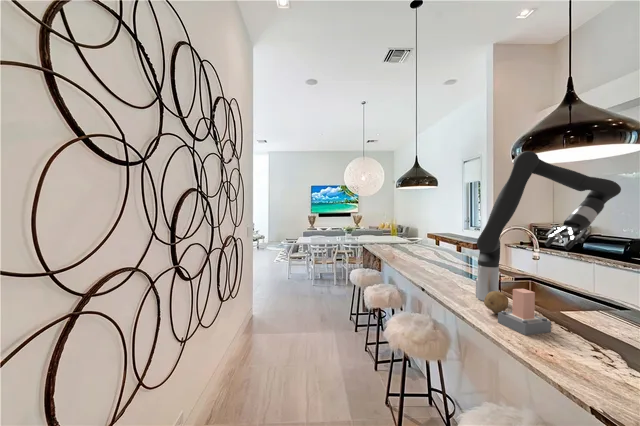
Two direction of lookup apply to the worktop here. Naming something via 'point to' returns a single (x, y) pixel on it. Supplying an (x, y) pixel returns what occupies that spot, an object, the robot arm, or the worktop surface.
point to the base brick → (524, 323)
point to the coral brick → (523, 303)
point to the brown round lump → (496, 301)
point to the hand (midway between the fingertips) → (555, 246)
